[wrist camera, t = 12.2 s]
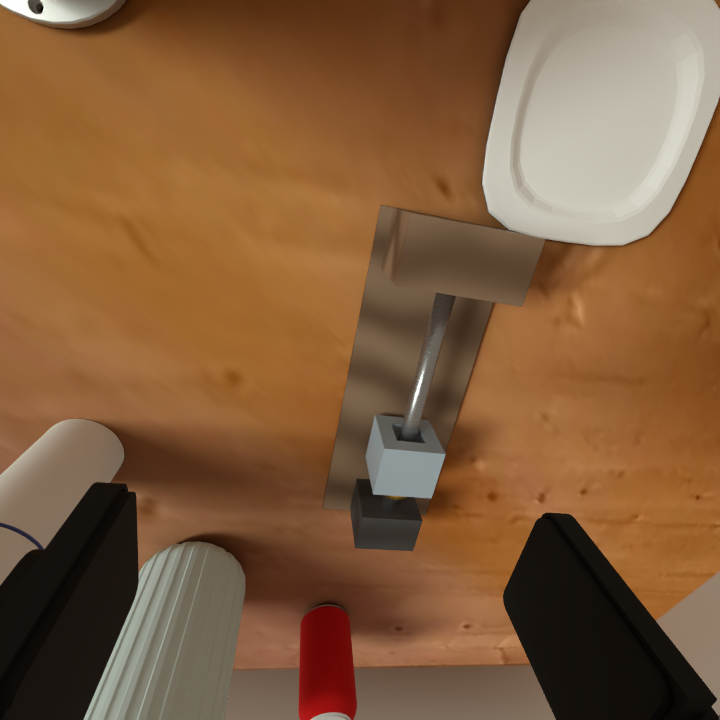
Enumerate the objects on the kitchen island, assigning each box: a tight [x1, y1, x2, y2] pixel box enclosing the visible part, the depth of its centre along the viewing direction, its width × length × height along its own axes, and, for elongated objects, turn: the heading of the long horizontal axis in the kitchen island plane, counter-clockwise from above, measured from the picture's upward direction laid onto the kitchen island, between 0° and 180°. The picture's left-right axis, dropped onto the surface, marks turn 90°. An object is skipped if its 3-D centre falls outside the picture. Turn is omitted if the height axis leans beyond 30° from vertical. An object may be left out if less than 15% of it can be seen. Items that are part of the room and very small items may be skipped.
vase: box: [84, 542, 246, 720], centre depth 37 cm, size 12×12×22 cm
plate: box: [482, 0, 720, 246], centre depth 32 cm, size 18×18×2 cm
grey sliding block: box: [365, 415, 446, 498], centre depth 39 cm, size 5×6×6 cm
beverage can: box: [299, 604, 357, 720], centre depth 47 cm, size 6×6×12 cm
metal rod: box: [382, 293, 456, 510], centre depth 37 cm, size 26×3×3 cm, turn 169°
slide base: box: [323, 205, 546, 551], centre depth 37 cm, size 32×12×7 cm, turn 169°
